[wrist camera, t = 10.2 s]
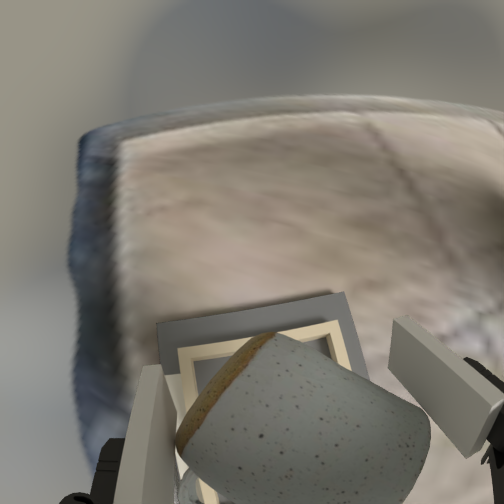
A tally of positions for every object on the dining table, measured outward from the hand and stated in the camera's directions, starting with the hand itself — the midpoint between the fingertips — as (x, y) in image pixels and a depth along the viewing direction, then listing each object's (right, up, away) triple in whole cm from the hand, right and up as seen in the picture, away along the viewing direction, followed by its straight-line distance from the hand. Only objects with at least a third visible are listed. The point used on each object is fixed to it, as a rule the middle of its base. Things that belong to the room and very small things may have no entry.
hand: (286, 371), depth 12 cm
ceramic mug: (0, -6, +1) cm, 6 cm away
